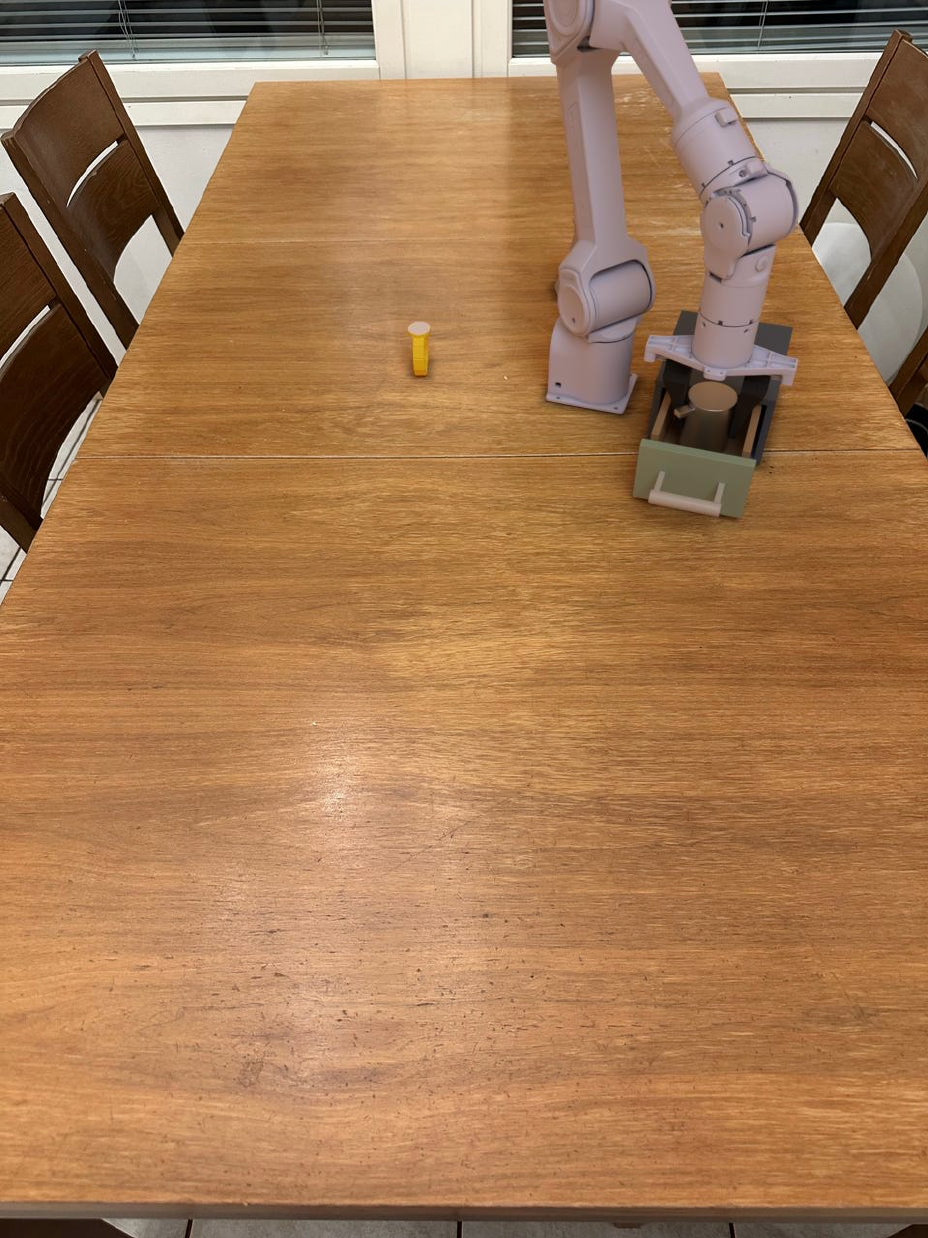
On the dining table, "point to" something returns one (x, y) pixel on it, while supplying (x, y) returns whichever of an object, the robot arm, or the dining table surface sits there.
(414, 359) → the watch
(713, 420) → the measuring cup
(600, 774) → the dining table surface
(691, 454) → the drawer
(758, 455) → the cabinet
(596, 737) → the dining table surface
